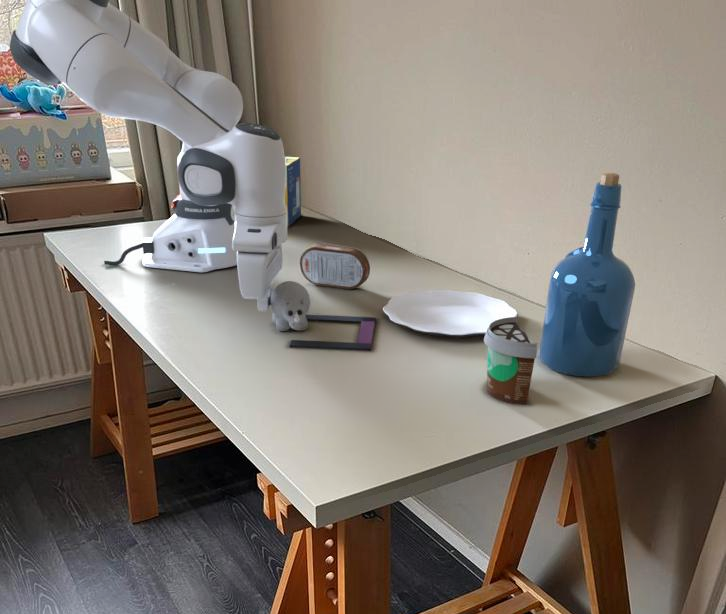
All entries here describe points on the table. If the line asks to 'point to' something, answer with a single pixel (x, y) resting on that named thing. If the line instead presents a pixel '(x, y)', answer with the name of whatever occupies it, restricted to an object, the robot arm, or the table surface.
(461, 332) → the plate
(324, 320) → the u-shaped frame
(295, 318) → the toy rhinoceros
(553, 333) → the wine bottle
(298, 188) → the protein box
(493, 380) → the food container
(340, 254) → the tin
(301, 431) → the table surface
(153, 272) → the table surface
